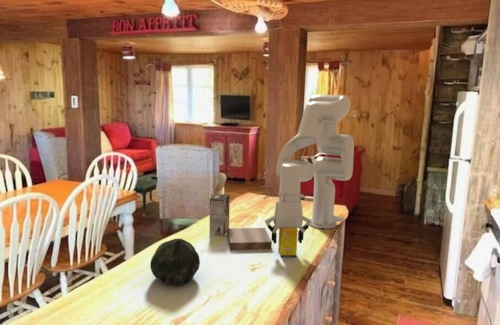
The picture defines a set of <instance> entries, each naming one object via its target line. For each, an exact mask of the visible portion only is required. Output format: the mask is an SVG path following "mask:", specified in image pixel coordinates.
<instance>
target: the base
mask: <svg viewBox="0 0 500 325" xmlns="http://www.w3.org/2000/svg"><path fill="white" fill-rule="evenodd" d="M226 237H227V242H228V248H229V251H256V250H272V244H273V243H272V242H273V241H272V238H271V237H270V235H269V233H268V231H267V230H266V228H265V227H246V228H245V227H242V228H241V227H237V228H236V227H235V228H234V227H233V228H231V227H229V228H228V229H227V233H226Z"/></svg>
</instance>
